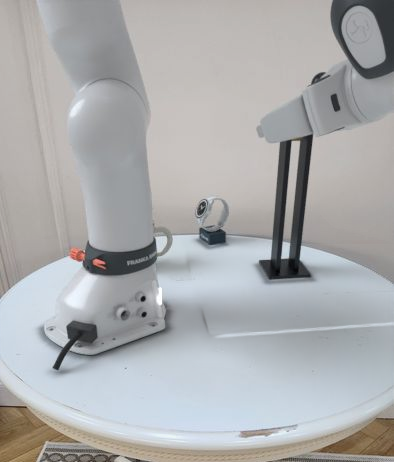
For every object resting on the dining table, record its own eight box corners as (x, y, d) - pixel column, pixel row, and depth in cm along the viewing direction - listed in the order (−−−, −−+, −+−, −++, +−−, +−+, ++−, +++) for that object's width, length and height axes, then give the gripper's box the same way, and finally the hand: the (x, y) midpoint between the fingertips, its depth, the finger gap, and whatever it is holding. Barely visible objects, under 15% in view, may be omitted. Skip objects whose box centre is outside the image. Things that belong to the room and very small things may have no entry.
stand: (310, 279, 111) (329, 124, 95) (268, 282, 110) (280, 125, 94) (297, 262, 119) (313, 116, 103) (258, 265, 118) (268, 117, 102)
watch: (192, 241, 130) (191, 196, 124) (221, 236, 133) (222, 192, 127) (202, 249, 126) (202, 202, 120) (232, 243, 129) (233, 198, 123)
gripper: (385, 53, 78) (311, 85, 89) (302, 89, 68) (230, 120, 78) (395, 97, 80) (322, 123, 91) (317, 138, 70) (244, 162, 81)
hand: (279, 122), depth 85 cm, fingers open, 8 cm apart
